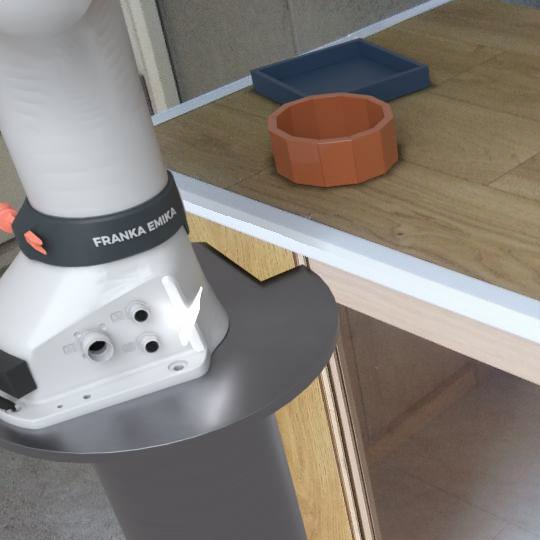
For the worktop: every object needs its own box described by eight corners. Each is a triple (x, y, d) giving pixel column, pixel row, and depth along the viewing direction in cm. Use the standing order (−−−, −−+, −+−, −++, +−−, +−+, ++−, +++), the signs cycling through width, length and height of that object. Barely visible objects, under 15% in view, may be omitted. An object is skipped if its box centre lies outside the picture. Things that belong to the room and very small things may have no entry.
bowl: (320, 198, 109) (312, 153, 105) (254, 159, 116) (244, 116, 112) (421, 159, 115) (416, 116, 112) (352, 125, 123) (346, 83, 119)
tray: (319, 124, 123) (315, 103, 121) (254, 90, 131) (249, 70, 129) (430, 86, 131) (428, 66, 129) (362, 57, 140) (360, 37, 138)
